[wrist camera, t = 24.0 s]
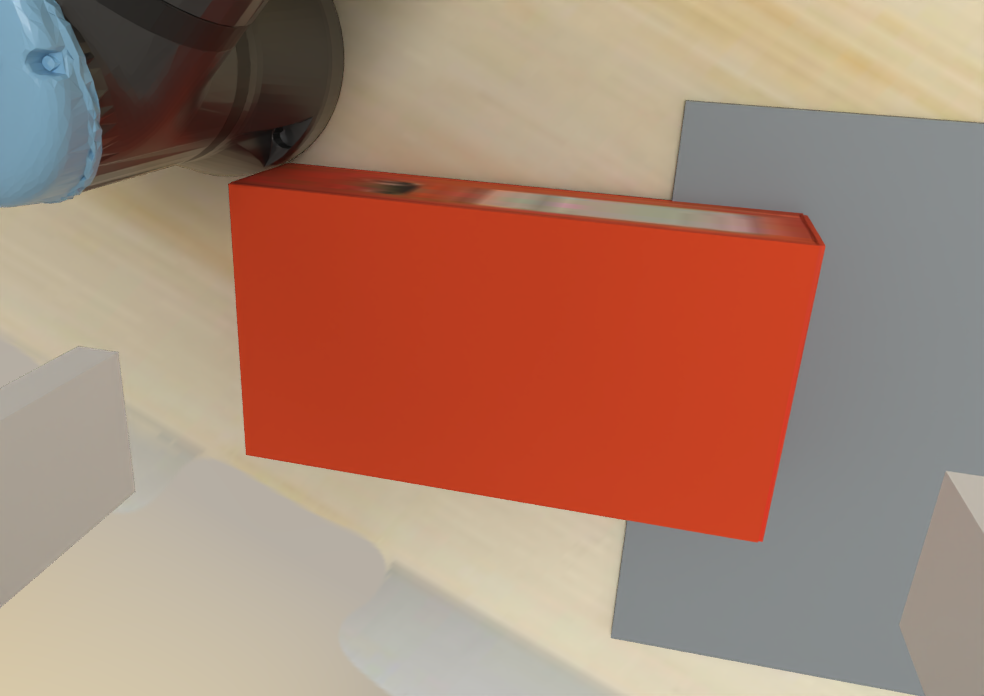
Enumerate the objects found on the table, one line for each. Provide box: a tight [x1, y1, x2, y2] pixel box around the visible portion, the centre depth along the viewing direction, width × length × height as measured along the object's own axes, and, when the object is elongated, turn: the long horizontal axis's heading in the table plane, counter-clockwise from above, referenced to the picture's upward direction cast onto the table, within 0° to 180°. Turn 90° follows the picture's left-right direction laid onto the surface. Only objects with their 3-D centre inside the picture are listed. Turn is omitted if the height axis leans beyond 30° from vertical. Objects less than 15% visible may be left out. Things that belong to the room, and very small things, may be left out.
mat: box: [611, 100, 984, 696], centre depth 52 cm, size 24×38×1 cm, turn 176°
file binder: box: [228, 163, 825, 543], centre depth 50 cm, size 8×17×32 cm
